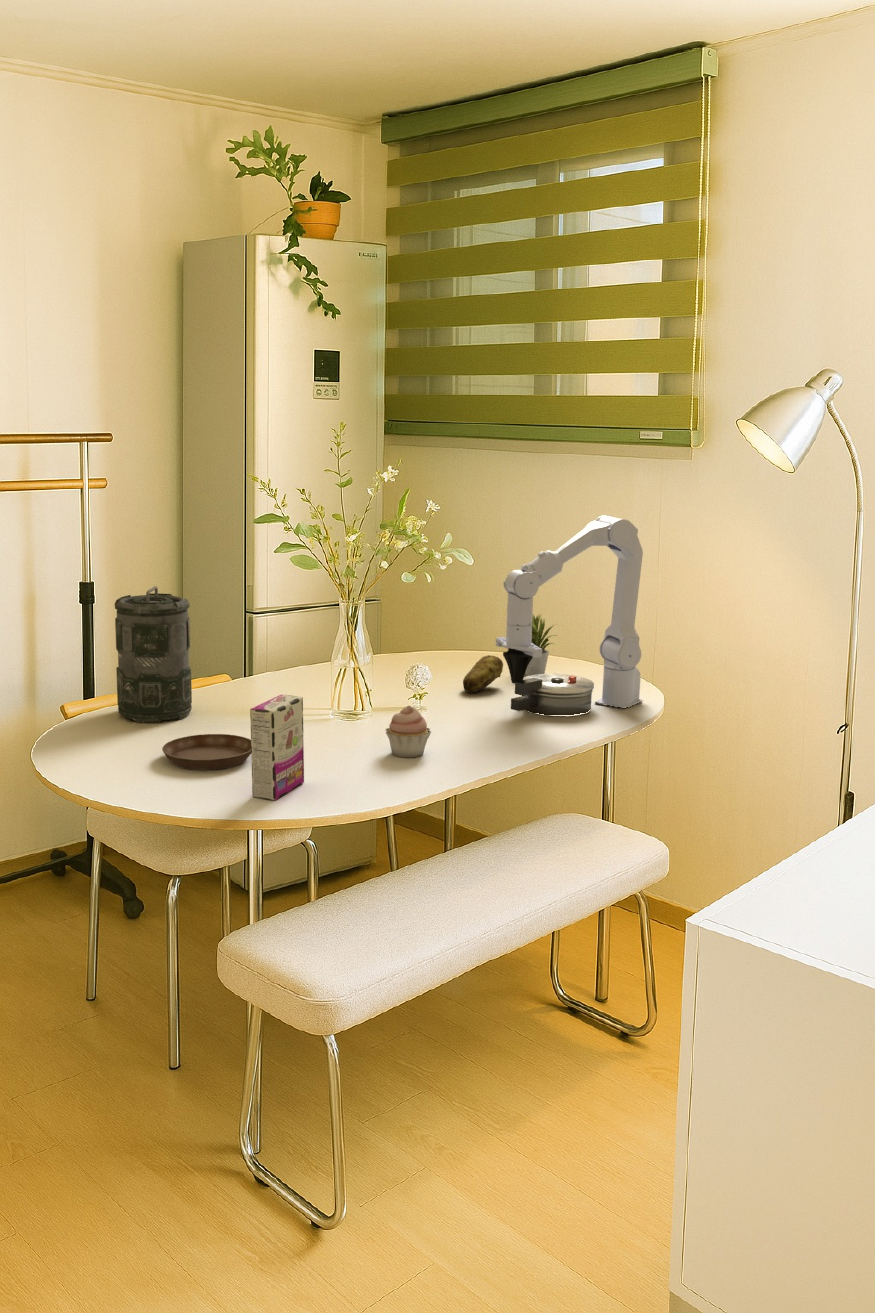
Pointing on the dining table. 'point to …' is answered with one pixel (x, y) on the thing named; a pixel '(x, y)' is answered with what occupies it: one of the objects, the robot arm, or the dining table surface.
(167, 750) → the plant saucer
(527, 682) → the lid
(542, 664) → the house plant
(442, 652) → the dining table surface
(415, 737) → the cupcake
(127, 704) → the canister
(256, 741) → the candy bar box
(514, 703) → the pot
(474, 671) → the potato
